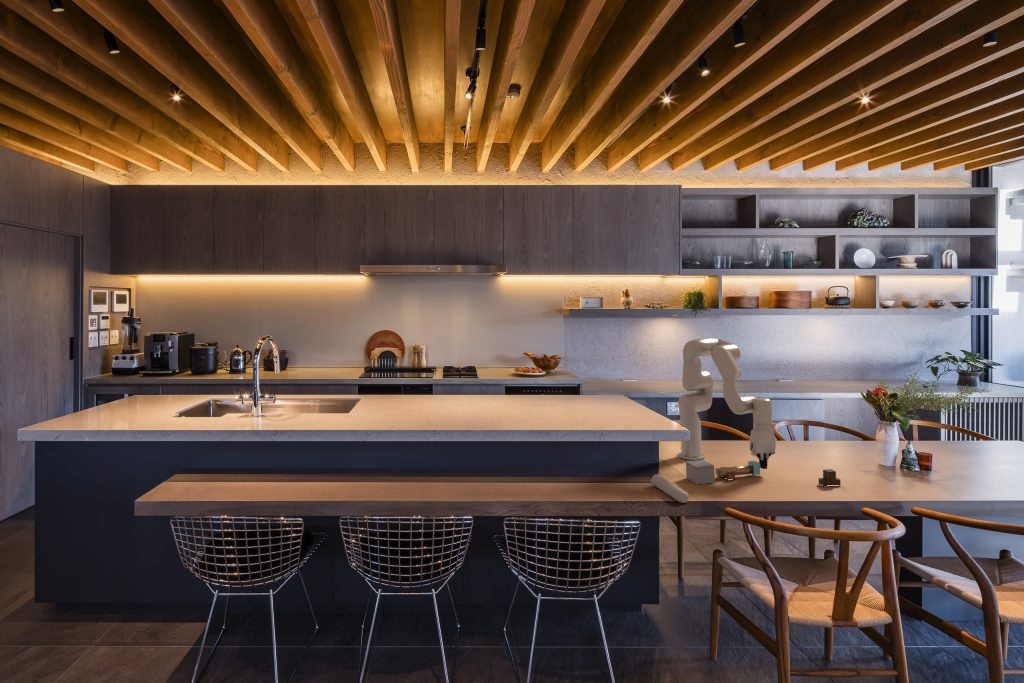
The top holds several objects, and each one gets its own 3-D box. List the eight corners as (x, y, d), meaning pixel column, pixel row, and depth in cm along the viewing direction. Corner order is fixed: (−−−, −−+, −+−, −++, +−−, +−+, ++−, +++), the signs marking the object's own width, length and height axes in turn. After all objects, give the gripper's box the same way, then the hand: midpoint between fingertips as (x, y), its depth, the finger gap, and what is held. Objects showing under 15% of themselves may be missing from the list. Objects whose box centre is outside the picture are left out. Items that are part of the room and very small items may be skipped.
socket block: (686, 478, 265) (685, 461, 265) (703, 476, 266) (703, 459, 266) (696, 484, 255) (696, 467, 255) (714, 483, 257) (714, 465, 256)
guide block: (720, 476, 266) (719, 467, 266) (726, 475, 267) (726, 466, 266) (728, 480, 259) (728, 471, 259) (735, 480, 259) (734, 471, 259)
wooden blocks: (823, 494, 238) (823, 477, 238) (804, 483, 253) (804, 467, 253) (861, 492, 239) (861, 475, 238) (839, 481, 254) (839, 465, 253)
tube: (693, 493, 233) (663, 475, 257) (681, 490, 232) (652, 472, 256) (689, 506, 233) (660, 487, 257) (677, 503, 232) (649, 485, 256)
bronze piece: (715, 475, 264) (714, 463, 264) (754, 471, 267) (754, 460, 267) (720, 478, 260) (719, 466, 260) (760, 474, 263) (759, 463, 262)
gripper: (773, 423, 269) (774, 464, 270) (742, 426, 267) (742, 467, 268) (783, 427, 262) (784, 469, 263) (751, 429, 259) (752, 471, 260)
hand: (763, 468), depth 265 cm, fingers closed
